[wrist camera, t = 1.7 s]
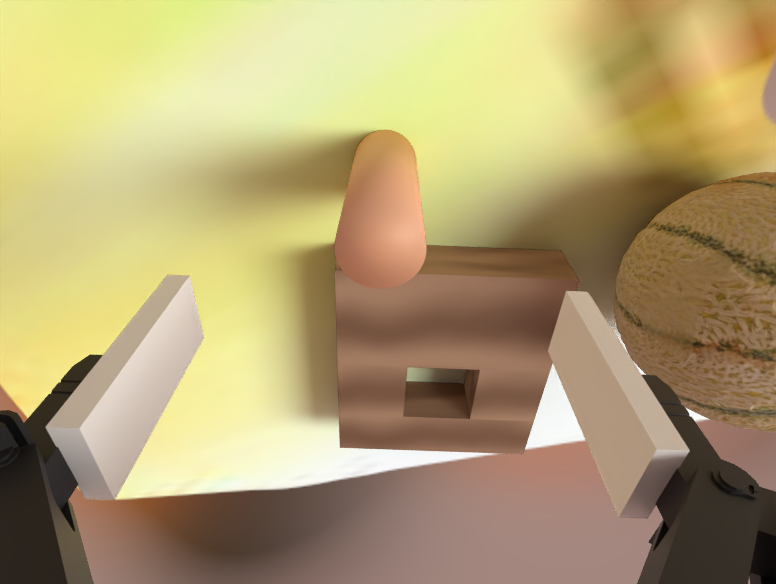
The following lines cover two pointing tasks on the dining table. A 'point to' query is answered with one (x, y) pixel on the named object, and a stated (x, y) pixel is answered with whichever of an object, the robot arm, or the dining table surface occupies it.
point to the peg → (382, 214)
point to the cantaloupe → (708, 300)
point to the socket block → (450, 350)
